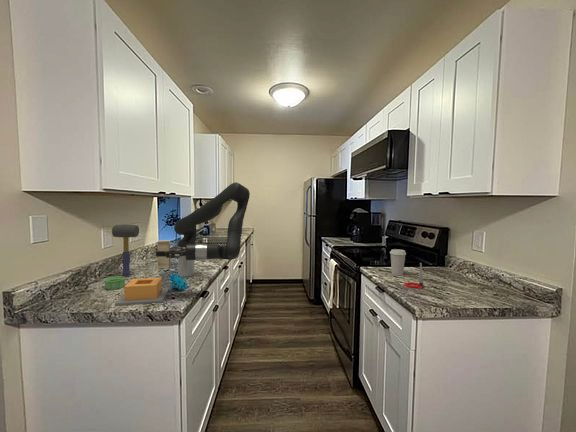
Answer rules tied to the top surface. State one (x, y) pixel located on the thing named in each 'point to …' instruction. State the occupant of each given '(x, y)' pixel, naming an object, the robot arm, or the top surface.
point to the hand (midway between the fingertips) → (157, 253)
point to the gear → (178, 281)
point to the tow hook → (416, 283)
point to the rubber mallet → (125, 243)
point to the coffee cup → (397, 261)
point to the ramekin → (114, 282)
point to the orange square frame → (143, 292)
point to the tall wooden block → (163, 261)
